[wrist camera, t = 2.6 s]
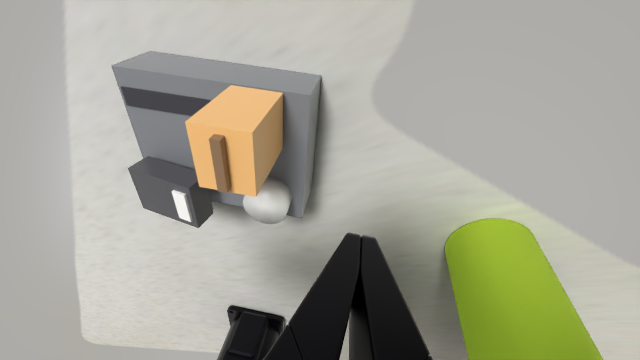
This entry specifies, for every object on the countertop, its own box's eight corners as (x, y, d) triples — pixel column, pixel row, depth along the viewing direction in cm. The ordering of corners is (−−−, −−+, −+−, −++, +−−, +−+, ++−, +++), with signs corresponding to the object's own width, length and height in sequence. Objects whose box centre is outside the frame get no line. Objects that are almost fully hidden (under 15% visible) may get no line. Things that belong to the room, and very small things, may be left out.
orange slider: (282, 148, 15) (253, 203, 12) (236, 140, 15) (194, 192, 12) (282, 92, 13) (247, 138, 10) (231, 84, 13) (178, 126, 10)
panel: (311, 188, 21) (297, 231, 17) (179, 165, 21) (142, 202, 18) (321, 75, 16) (304, 105, 12) (150, 51, 17) (91, 72, 13)
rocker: (213, 212, 18) (196, 229, 17) (160, 194, 19) (141, 209, 18) (205, 174, 16) (186, 190, 15) (148, 155, 17) (125, 169, 16)
